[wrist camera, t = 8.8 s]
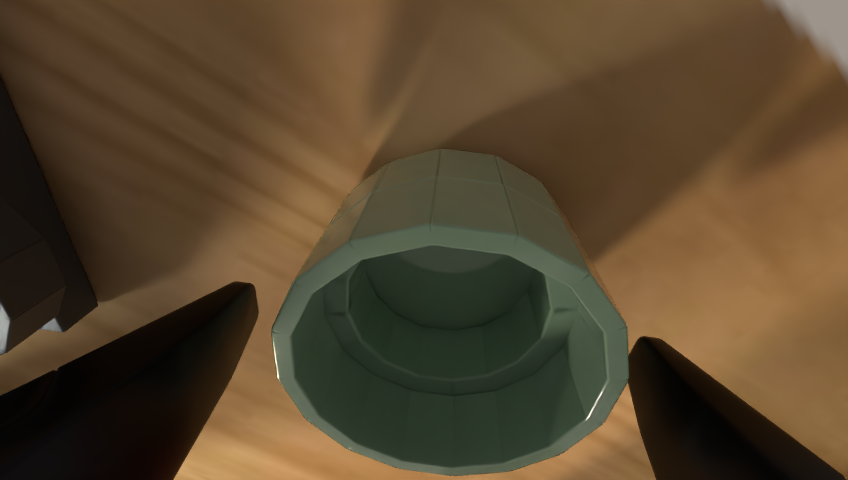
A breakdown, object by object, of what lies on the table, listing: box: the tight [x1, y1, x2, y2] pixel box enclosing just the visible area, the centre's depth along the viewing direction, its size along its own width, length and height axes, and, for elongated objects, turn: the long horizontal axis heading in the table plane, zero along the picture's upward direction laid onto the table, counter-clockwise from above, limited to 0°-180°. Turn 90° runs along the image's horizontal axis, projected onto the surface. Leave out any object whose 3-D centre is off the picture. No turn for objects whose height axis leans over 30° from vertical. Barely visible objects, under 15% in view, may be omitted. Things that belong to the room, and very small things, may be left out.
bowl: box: [271, 149, 629, 476], centre depth 9 cm, size 7×7×4 cm
